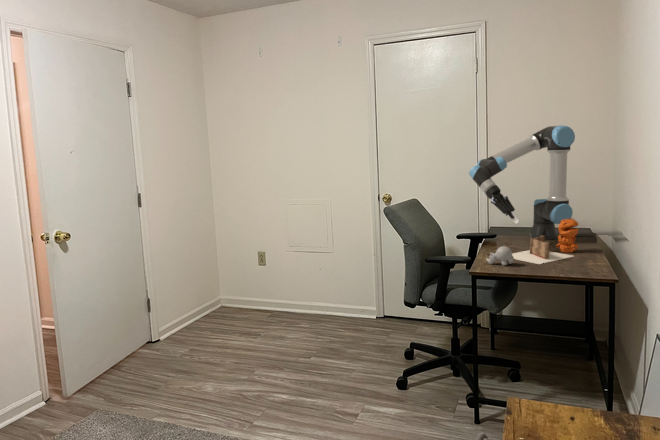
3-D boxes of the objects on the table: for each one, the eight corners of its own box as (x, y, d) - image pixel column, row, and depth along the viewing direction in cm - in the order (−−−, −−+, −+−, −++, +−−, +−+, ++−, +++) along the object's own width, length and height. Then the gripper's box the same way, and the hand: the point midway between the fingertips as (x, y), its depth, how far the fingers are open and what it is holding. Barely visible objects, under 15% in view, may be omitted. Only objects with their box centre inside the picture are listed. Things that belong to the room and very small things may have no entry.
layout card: (501, 256, 252) (501, 255, 252) (535, 249, 266) (535, 248, 266) (539, 264, 234) (540, 263, 234) (574, 256, 247) (574, 255, 247)
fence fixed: (541, 250, 262) (541, 235, 261) (545, 250, 260) (545, 235, 259) (528, 253, 255) (529, 237, 254) (532, 254, 254) (533, 238, 253)
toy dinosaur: (569, 254, 252) (570, 219, 249) (551, 251, 261) (552, 216, 259) (584, 252, 257) (585, 217, 254) (565, 248, 266) (566, 214, 264)
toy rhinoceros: (491, 267, 241) (484, 251, 241) (516, 259, 236) (509, 242, 236) (489, 270, 235) (482, 253, 235) (515, 263, 229) (508, 245, 230)
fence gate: (531, 253, 253) (531, 237, 252) (535, 252, 254) (535, 237, 253) (546, 258, 241) (546, 242, 240) (549, 258, 241) (550, 242, 240)
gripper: (493, 192, 278) (521, 225, 267) (479, 195, 270) (506, 228, 260) (502, 183, 273) (530, 216, 262) (487, 185, 265) (516, 219, 255)
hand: (518, 222), depth 261 cm, fingers closed
